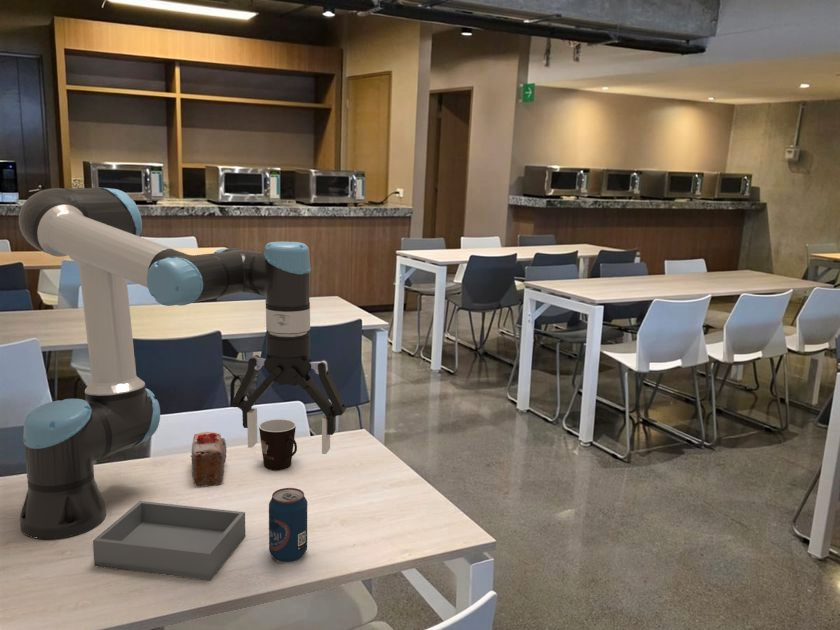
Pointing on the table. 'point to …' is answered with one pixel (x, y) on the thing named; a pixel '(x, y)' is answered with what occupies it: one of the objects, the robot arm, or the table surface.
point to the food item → (208, 458)
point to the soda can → (288, 525)
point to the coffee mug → (277, 443)
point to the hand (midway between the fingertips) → (289, 448)
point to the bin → (170, 540)
